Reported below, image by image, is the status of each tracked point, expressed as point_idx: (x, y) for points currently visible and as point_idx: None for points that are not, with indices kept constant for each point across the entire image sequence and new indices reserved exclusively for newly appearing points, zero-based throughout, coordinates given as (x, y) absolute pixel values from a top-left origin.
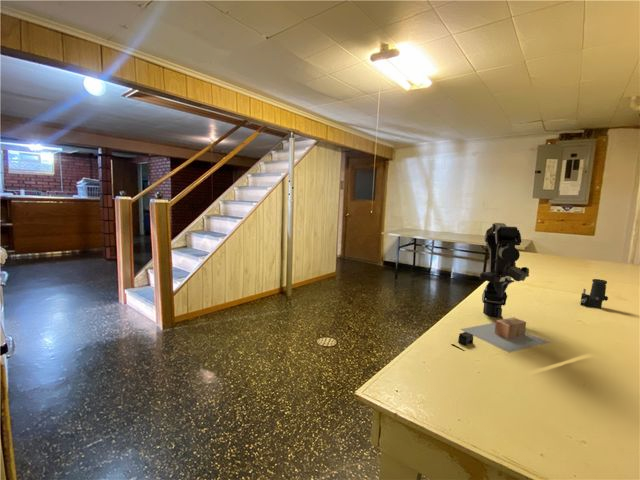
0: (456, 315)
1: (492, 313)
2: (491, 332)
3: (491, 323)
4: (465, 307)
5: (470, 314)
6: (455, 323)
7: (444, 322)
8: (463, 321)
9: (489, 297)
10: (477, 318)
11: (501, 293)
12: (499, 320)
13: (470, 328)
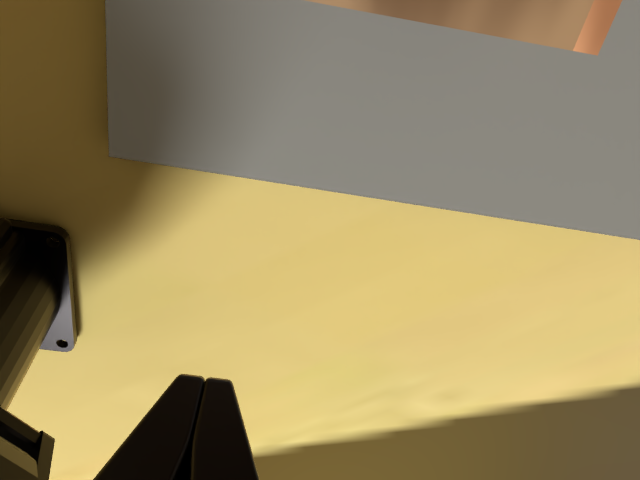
0: (310, 415)
1: (22, 285)
2: None
3: (241, 172)
4: None
5: (163, 380)
6: (513, 338)
7: (567, 385)
8: (399, 331)
9: (16, 477)
10: (195, 311)
11: (237, 458)
12: (541, 27)
13: (599, 210)
